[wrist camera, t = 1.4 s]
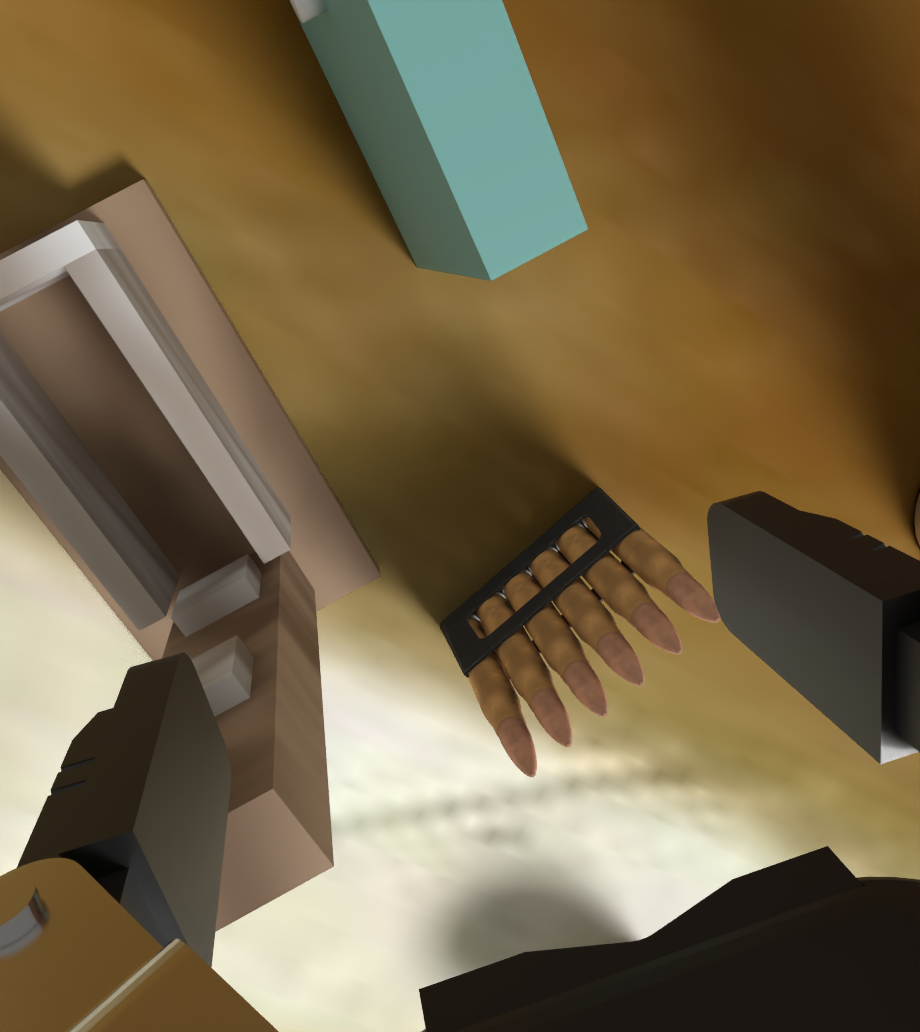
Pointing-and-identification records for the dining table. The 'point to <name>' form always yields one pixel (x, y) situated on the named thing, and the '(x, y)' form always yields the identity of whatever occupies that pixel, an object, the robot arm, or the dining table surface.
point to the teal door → (447, 128)
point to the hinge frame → (183, 505)
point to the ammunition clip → (567, 620)
